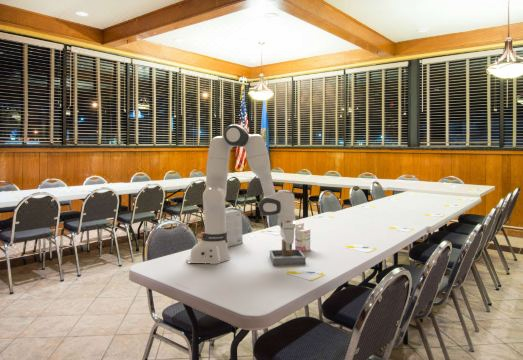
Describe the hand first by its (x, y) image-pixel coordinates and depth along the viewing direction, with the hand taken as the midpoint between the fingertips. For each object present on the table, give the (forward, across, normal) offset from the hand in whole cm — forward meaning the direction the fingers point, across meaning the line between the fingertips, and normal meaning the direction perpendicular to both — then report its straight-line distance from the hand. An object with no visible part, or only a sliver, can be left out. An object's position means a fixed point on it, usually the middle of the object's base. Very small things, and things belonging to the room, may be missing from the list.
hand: (286, 248), depth 205 cm
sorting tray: (+6, 0, 0) cm, 6 cm away
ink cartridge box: (+6, -19, +12) cm, 23 cm away
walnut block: (+4, 0, 0) cm, 4 cm away
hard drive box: (+6, -39, -29) cm, 49 cm away
